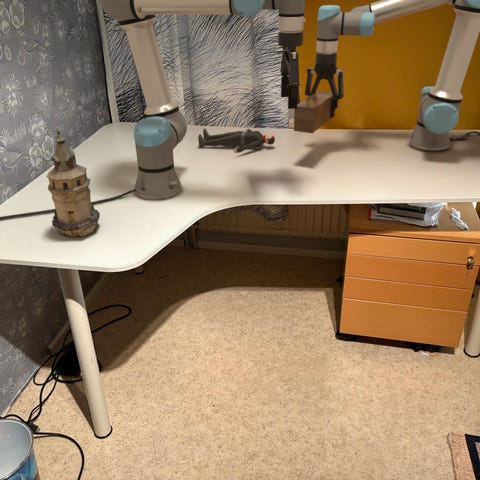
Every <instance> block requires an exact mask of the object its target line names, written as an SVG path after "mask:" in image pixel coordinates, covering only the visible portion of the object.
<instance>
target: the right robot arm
mask: <svg viewBox="0 0 480 480" xmlns="http://www.w3.org/2000/svg"><path fill="white" fill-rule="evenodd" d="M445 4H448V5H450V6H452V5H454V6H453V10H454V12H455V14H456V16H455V18H454V22H453V26H452V29H451V33H450V36H449V39H448V41H447V46H446V48H445V53H444V55H443V59H442V62H441V66H440V68H439V72H438V75H437V80H436V83H435V85H429V86H424V87H422V89H421V93H420V100H419V106H418V112H417V119H416V120H417V121H416V125H415V127H414V129H413V131H412V132H411V133H410V138H409V140H408V145H409V146H410V147H411V148H413V149H415V150H418V151H422V152H430V153H437V152H445V151H447V150H448V149H450V143H451V141H464V140H466V139H467V136H470V135H471V134H470V133H475V134H474V135H478V136H479V137H480V132H479V131H474V130H473V131H469V132H466V133H463V135H462V136H461V137H460V136H459V137H460V138H457V137H450V135H449V132H451V131H452V130H453V129H454V128H455V127H456V126H457V125H458V122H459V119H460V112H459V111H460V108H461V104H462V101H463V98H464V97H463V94H462V93H461V90H462V87H463V83H464V80H465V77H466V74H467V72H468V68H469V66H470V62H471V60H472V56H473V53H474V50H475V46H476V43H477V41H478V37H479V34H480V0H378V1H375V2H371V3H368V4H365V5H362V6H355V7H354V8H352V9H351V10H350V11H342V10H341V6H340V5H337V4H336V5H334V4H325V5H321V6H320V7H319V8H318V11H317V12H318V13H317V21H316V23H317V26H316V45H315V46H316V47H315V51H316V52H317V53H316V54H315V65H314V66H313V67H308V68H307V69H306V74H307V77H306V83H305V88H304V95H305V96H306V97H310V96H311V95H313V94H314V93H316V92H317V90H318V88H319V85H320V82H321V81H322V80H325V81H327V82H328V84H329V87H330V92H332V95H333V98H334V99H333V100H332V103H331V117H330V118H331V119H333V118H334V117H335V116H336V110H337V109H338V107H339V100H342V99H343V98H344V97H345V92H344V90H345V89H344V75H345V70H343V69H342V70H341V69H338V67H337V62H338V61H337V60H338V54H337V52H338V45H339V36H353V37H354V36H355V37H356V36H357V37H358V36H359V37H370V36H372V35H374V30H375V26H377V25H379V24H383V23H386V22H390V21H392V20H393V21H394V20H396V19H399V18H402V17H406V16H409V15H412V14H415V13H419V12H422V11H426V10H429V9H433V8H436V7H439V6H442V5H445ZM314 73H315V74H316V78H315V79H314V83H312V82H313V77H314ZM335 75H336V76H337V85H336V81H335ZM312 84H313V85H312ZM476 133H477V134H476ZM465 134H466V136H465ZM464 136H465V138H464ZM454 138H455V139H454Z"/></svg>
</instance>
